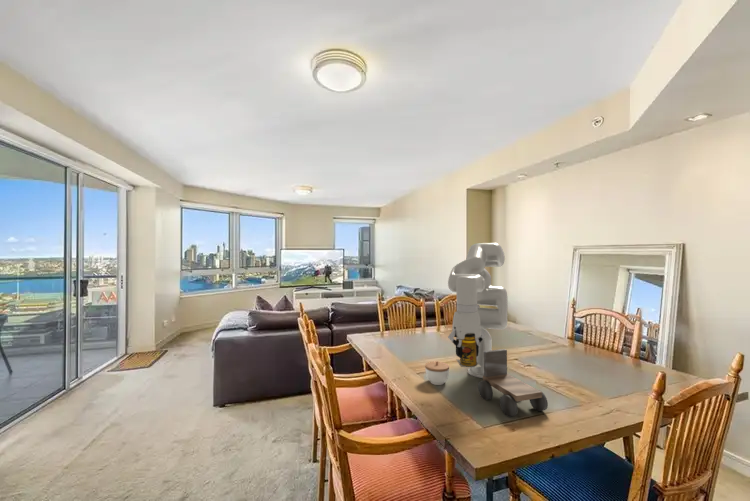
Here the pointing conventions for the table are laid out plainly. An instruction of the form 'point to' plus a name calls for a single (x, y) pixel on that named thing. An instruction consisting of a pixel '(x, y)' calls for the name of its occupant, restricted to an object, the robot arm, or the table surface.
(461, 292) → the robot arm
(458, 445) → the table surface
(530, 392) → the trolley
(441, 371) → the lidded jar
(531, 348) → the table surface
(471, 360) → the condiment
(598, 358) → the table surface
